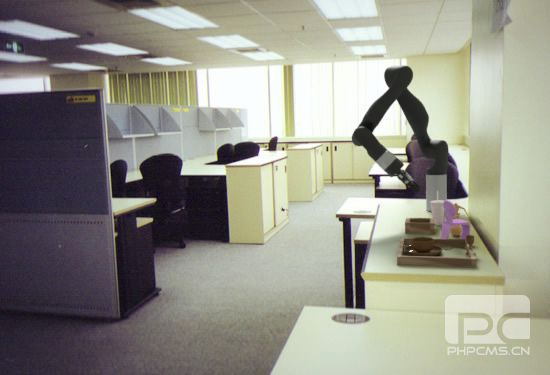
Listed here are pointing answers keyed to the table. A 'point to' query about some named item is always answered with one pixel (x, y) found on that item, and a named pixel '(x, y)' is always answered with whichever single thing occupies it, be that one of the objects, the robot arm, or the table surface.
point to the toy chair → (453, 221)
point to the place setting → (430, 246)
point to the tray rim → (437, 260)
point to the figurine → (457, 229)
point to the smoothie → (437, 210)
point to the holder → (420, 225)
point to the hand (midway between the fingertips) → (418, 190)
